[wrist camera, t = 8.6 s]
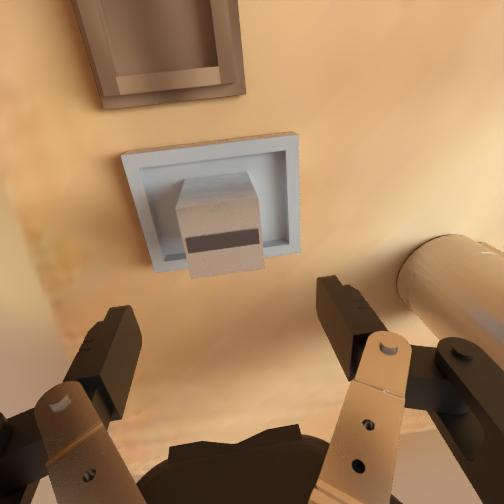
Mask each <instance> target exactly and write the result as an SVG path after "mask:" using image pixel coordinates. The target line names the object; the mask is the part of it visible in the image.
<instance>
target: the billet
mask: <svg viewBox="0 0 504 504" xmlns="http://www.w3.org/2000/svg"><path fill="white" fill-rule="evenodd" d="M175 210H176V214H177V219H178V223H179V227H180V232H181V236H182V240H183V245H184V249H185V253H186V258H187V262H188V266H189V271H190V275H191V279H195V278H202V277H208V276H215V275H222V274H229V273H236V272H243V271H250V270H257V269H264V268H265V265H264V254H263V242H262V231H261V220H260V208H259V198H258V195H257V193H256V191H255V189H254V186H253V184H252V182H251V180H250V177H249V175H248V173H247V171H246V172H238V173H230V174H222V175H214V176H206V177H198V178H190V179H185V180H184V183H183V186H182V189H181V193H180V196H179V199H178V202H177V205H176V208H175Z"/></svg>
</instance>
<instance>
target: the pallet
mask: <svg viewBox="0 0 504 504" xmlns="http://www.w3.org/2000/svg"><path fill="white" fill-rule="evenodd" d="M71 1H72V5H73V8H74V11H75V15H76V18H77V21H78V25H79V28H80V31H81V35H82V38H83V41H84V45H85V48H86V51H87V55H88V58H89V61H90V65H91V68H92V71H93V75H94V78H95V81H96V85H97V88H98V91H99V95H100V98H101V101H102V105H103V108H104V110H105V109H114V108H123V107H132V106H142V105H151V104H160V103H169V102H178V101H187V100H196V99H206V98H215V97H224V96H233V95H242V94H246V87H245V76H244V65H243V54H242V43H241V33H240V22H239V11H238V0H71Z"/></svg>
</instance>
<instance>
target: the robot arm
mask: <svg viewBox="0 0 504 504" xmlns="http://www.w3.org/2000/svg"><path fill="white" fill-rule="evenodd" d="M397 288H398V293H399V295H400V297H401V298H402V300H403V301H404V302H405V303H406V304H407V305H408V306H409V307H410V308H411V309H412V311H413V312H414V313H415V314H416V315H417V316H418V317H419V318H420V319H421V320H422V321H423V323H424V324H425V325H426V326H427V327H428V328H429V329H430V330H431V331H432V332H433V333H434V335H435V336H436V337H437V338H438V339H439V340H440V341H439V343H438V345H437V348H435V347H424V346H415V345H410V344H409V343H408V341H407V340H406V339H405V338H403V337H402V336H400V335H398V334H396V333H393V332H389V331H388V330H387V328H386V327H385V326H384V324H383V323H382V322H381V320H380V319H379V318H378V316H377V315H376V314H375V312H374V311H373V310H372V308H371V307H370V306H369V304H368V303H367V302H366V301H365V299H364V298H363V296H362V295H361V293H360V292H359V291H358V290H356V289H355V288H353V287H352V286H350V285H344V286H342V284H341V283H340V281H339V280H338V278H337V277H336V276H335V275H333V276H326V277H319V278H317V290H316V309H317V314H318V318H319V320H320V322H321V324H322V327H323V329H324V331H325V333H326V335H327V337H328V339H329V341H330V343H331V345H332V348H333V350H334V352H335V354H336V356H337V358H338V360H339V362H340V364H341V366H342V368H343V371H344V373H345V375H346V377H347V379H348V381H351V383H350V386H349V389H348V392H347V395H346V398H345V401H344V404H343V407H342V410H341V413H340V416H339V419H338V422H337V425H336V428H335V431H334V434H333V437H332V440H331V443H328V442H326V441H324V440H322V439H319V438H316V437H313V436H309V435H303V434H301V432H300V428H299V425H298V424H295V425H289V426H284V427H278V428H273V429H267V430H265V431H263V432H261V433H259V434H256V435H254V436H252V437H250V438H248V439H246V440H244V441H242V442H239V443H237V444H227V443H216V442H206V441H200V442H194V443H188V444H183V445H177V446H172V447H169V456H168V459H167V460H164V461H163V462H161V463H159V464H158V465H156V466H155V467H153V468H152V469H151V470H149V471H148V472H147V473H146V474H145V475H144V476H143V477H142V478H141V479H140V480H139V481H138V482H137V483H135V481H134V479H133V477H132V475H131V474H130V472H129V470H128V468H127V466H126V465H125V463H124V461H123V459H122V457H121V455H120V454H119V452H118V450H117V448H116V446H115V445H114V443H113V441H112V439H111V437H110V435H109V434H108V432H107V429H108V426H109V423H110V421H115V420H121V419H122V416H123V413H124V409H125V405H126V402H127V398H128V394H129V391H130V387H131V383H132V380H133V376H134V372H135V369H136V365H137V361H138V358H139V354H140V350H141V346H142V336H141V332H140V329H139V326H138V323H137V320H136V318H135V315H134V312H133V309H132V307H131V306H130V305H125V306H119V307H112V308H110V309H109V310H108V312H107V315H106V317H105V319H104V321H100V322H97V323H96V324H95V325H94V326H93V327H92V328H91V329H90V330H89V331H88V333H87V335H86V337H85V339H84V341H83V344H82V345H81V347H80V349H79V352H78V353H77V355H76V357H75V359H74V361H73V362H72V364H71V366H70V368H69V371H68V372H67V374H66V376H65V378H64V380H63V382H62V383H60V384H58V385H56V386H54V387H53V388H51V389H50V390H48V391H47V392H46V393H45V394H44V395H43V396H42V397H41V398H40V399H39V400H38V402H37V404H36V406H35V407H34V408H32V409H30V410H28V411H25V412H23V413H20V414H18V415H16V416H13V417H11V418H8V419H6V418H5V417H4V415H3V414H2V413H1V412H0V504H31V501H32V499H33V496H34V494H35V491H36V489H37V486H38V483H39V481H40V479H41V478H43V477H45V476H47V475H49V478H50V481H51V484H52V488H53V491H54V494H55V497H56V500H57V503H58V504H403V503H401V502H400V501H399V500H398V499H397V498H396V497H394V496H393V495H392V494H391V490H392V483H393V477H394V470H395V463H396V457H397V451H398V444H399V438H400V431H401V425H402V418H403V411H404V407H405V408H412V409H419V410H426V411H427V412H428V414H429V415H430V417H431V419H432V420H433V422H434V424H435V425H436V427H437V429H438V430H439V432H440V433H441V435H442V437H443V438H444V440H445V441H446V443H447V445H448V447H449V448H450V450H451V452H452V453H453V455H454V456H455V458H456V460H457V461H458V463H459V465H460V466H461V468H462V470H463V471H464V473H465V474H466V476H467V478H468V479H469V481H470V483H471V484H472V486H473V488H474V489H475V491H476V492H477V494H478V496H479V498H480V499H481V501H482V502H483V504H504V253H503V252H501V251H500V250H498V249H496V248H494V247H492V246H491V245H489V244H487V243H477V242H475V241H473V240H472V239H470V238H468V237H465V236H462V235H447V236H442V237H439V238H435V239H433V240H431V241H429V242H427V243H425V244H424V245H422V246H421V247H419V248H418V249H417V250H416V251H415V252H414V253H413V254H411V255H410V256H409V258H408V259H407V260H406V262H405V263H404V264H403V266H402V268H401V270H400V273H399V276H398V280H397Z"/></svg>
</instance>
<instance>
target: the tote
mask: <svg viewBox="0 0 504 504" xmlns="http://www.w3.org/2000/svg"><path fill="white" fill-rule="evenodd" d="M121 159H122V163H123V166H124V169H125V173H126V176H127V180H128V183H129V186H130V190H131V193H132V196H133V200H134V203H135V207H136V210H137V213H138V217H139V220H140V224H141V227H142V230H143V234H144V237H145V240H146V244H147V247H148V251H149V254H150V257H151V261H152V264H153V267H154V271H155V273H160V272H167V271H175V270H182V269H189V266H188V262H187V258H186V253H185V249H184V245H183V240H182V236H181V232H180V227H179V223H178V219H177V214H176V210H175V208H176V205H177V202H178V199H179V196H180V193H181V189H182V186H183V183H184V180H185V179H190V178H198V177H206V176H214V175H222V174H230V173H238V172H246V171H247V173H248V175H249V177H250V180H251V182H252V184H253V186H254V189H255V191H256V193H257V195H258V198H259V208H260V220H261V231H262V242H263V254H264V258H267V257H274V256H281V255H288V254H295V253H301V234H300V183H299V135H298V134H296V133H294V132H285V133H276V134H267V135H259V136H250V137H242V138H233V139H225V140H216V141H208V142H199V143H191V144H182V145H174V146H165V147H157V148H148V149H140V150H131V151H127V152H125V153H124V154H122V155H121Z"/></svg>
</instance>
